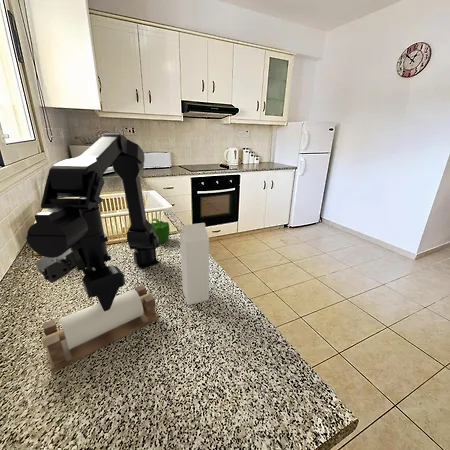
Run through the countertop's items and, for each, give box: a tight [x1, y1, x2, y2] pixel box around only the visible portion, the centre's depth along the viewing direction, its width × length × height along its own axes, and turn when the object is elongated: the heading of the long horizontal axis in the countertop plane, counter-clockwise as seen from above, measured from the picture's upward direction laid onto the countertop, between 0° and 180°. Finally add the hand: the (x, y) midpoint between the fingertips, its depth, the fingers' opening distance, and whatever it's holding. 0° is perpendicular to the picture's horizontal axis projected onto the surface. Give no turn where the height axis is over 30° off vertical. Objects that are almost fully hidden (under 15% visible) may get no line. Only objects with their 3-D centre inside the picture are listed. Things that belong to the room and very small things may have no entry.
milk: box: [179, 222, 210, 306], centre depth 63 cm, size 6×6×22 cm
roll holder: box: [41, 284, 160, 374], centre depth 53 cm, size 22×7×6 cm, turn 131°
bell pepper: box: [150, 217, 171, 244], centre depth 98 cm, size 8×8×10 cm
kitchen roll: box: [41, 289, 154, 350], centre depth 52 cm, size 22×6×6 cm, turn 131°
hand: (100, 298), depth 51 cm, fingers open, 9 cm apart
